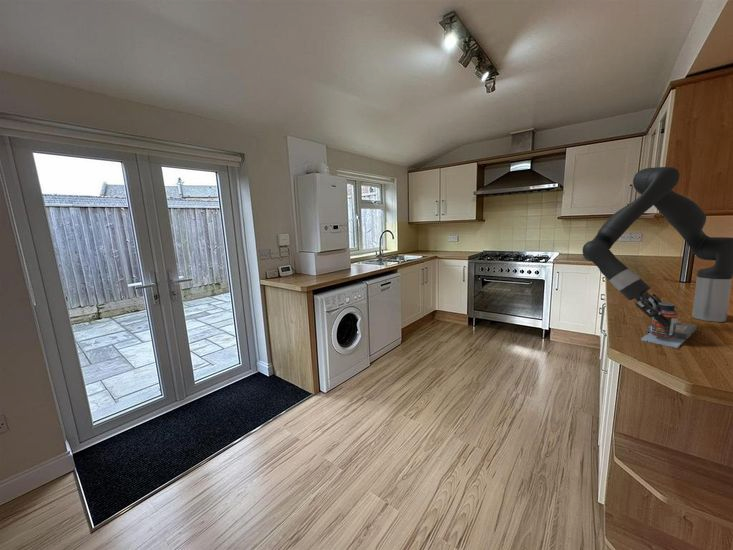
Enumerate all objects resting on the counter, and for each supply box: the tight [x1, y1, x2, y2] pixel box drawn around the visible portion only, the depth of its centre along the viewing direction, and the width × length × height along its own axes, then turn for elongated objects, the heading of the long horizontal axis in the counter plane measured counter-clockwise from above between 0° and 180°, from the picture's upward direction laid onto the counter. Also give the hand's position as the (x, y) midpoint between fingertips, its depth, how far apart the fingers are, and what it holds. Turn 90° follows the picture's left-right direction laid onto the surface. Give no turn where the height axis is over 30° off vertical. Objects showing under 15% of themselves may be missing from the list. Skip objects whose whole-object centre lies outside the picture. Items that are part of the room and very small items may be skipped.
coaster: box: [640, 333, 686, 349], centre depth 101 cm, size 9×9×1 cm
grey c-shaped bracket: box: [646, 320, 697, 341], centre depth 110 cm, size 19×10×3 cm, turn 123°
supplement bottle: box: [650, 301, 678, 338], centre depth 100 cm, size 6×6×11 cm
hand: (671, 323), depth 99 cm, fingers closed on supplement bottle, 6 cm apart
